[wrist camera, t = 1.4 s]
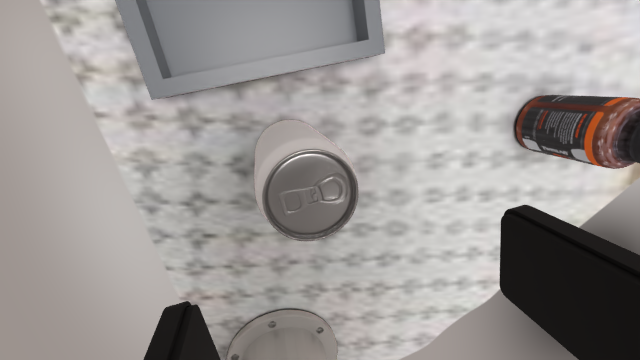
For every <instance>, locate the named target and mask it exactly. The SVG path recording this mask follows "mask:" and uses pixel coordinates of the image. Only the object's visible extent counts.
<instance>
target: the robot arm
mask: <svg viewBox="0 0 640 360" xmlns="http://www.w3.org/2000/svg"><path fill="white" fill-rule="evenodd" d="M500 288H501V291H502V293H503V294H504V295H505V296H506V298H508V299H509V300H510V301H511V302H512V303H513V304H515V305H516V306H517V307H518V308H519V309H520V310H522V311H523V312H524V313H525V314H526V315H528V316H529V317H530V318H531V319H532V320H533V321H534V322H536V323H537V324H538V325H539V326H540V327H541V328H543V329H544V330H545V331H546V332H547V333H548V334H550V335H551V336H552V337H553V338H554V339H555V340H557V341H558V342H559V343H560V344H561V345H562V346H563V347H565V348H566V349H567V350H568V351H569V352H570V353H572V354H573V355H574V356H575V357H576V358H578V359H579V360H640V255H638V254H636V253H633V252H631V251H629V250H627V249H625V248H622V247H620V246H618V245H616V244H613V243H611V242H609V241H607V240H605V239H602V238H600V237H598V236H596V235H593V234H591V233H589V232H587V231H584V230H582V229H580V228H578V227H576V226H574V225H571V224H569V223H567V222H565V221H562V220H560V219H558V218H556V217H554V216H551V215H549V214H547V213H545V212H542V211H540V210H538V209H536V208H534V207H531V206H529V205H522V206H518V207H515V208H511V209H508V210H507V211H506V212H505V213H504V216H503V217H502V218H501V247H500ZM337 353H338V350H337V343H336V339H335V336H334V334H333V332H332V330H331V328H330V326H329V325H328V324H327V323H326V322H325V321H324V320H322V319H321V318H320V317H318V316H316V315H314V314H312V313H309V312H305V311H301V310H282V311H276V312H272V313H268V314H266V315H263V316H261V317H259V318H257V319H255V320H253V321H252V322H250V323H249V324H247V325H246V326H245V327H244V328H243V329H242V330H241V331H240V332H239V333H238V334H237V335H236V337H235V338H234V339H233V341H232V343H231V345H230V347H229V350H228V354H227V360H337ZM144 360H220V357H219V355H218V352H217V350H216V347H215V345H214V342H213V340H212V338H211V335H210V333H209V330H208V328H207V325H206V323H205V321H204V318H203V316H202V313H201V311H200V308H199V307H198V305H191V303H190V302H188V301H186V302H183V303H179V304H176V305H172V306H169V307H166V308H165V309H164V311H163V313H162V315H161V318H160V320H159V323H158V325H157V328H156V330H155V333H154V335H153V337H152V340H151V343H150V345H149V347H148V350H147V353H146V355H145V357H144Z"/></svg>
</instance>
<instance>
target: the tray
mask: <svg viewBox="0 0 640 360" xmlns="http://www.w3.org/2000/svg"><path fill="white" fill-rule="evenodd" d="M115 1H116V4H117V6H118V9H119V12H120V15H121V17H122V20H123V23H124V26H125V28H126V31H127V34H128V36H129V39H130V42H131V45H132V47H133V50H134V53H135V56H136V58H137V61H138V64H139V67H140V69H141V72H142V75H143V77H144V80H145V83H146V86H147V88H148V91H149V94H150V97H151V99H152V100H153V99H160V98H167V97H172V96H177V95H182V94H187V93H192V92H197V91H202V90H207V89H212V88H217V87H222V86H227V85H232V84H237V83H242V82H247V81H252V80H257V79H262V78H267V77H272V76H277V75H282V74H287V73H292V72H297V71H302V70H307V69H312V68H317V67H322V66H327V65H332V64H337V63H342V62H347V61H352V60H357V59H362V58H367V57H372V56H376V55H380V54H384V53H385V47H384V38H383V29H382V20H381V10H380V1H379V0H115Z"/></svg>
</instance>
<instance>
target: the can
mask: <svg viewBox="0 0 640 360" xmlns="http://www.w3.org/2000/svg"><path fill="white" fill-rule="evenodd" d="M254 185H255V196H256V200H257V204H258V206H259V209H260V211H261V212H262V214H263V215H264V217H265V218H266V219H267V220H268V221H269V222H270V223H271V225H272V226H273V227H274V228H275V229H276V230H277V231H278V232H280V233H281V234H283V235H284V236H286V237H289V238H291V239H294V240H299V241H315V240H320V239H324V238H326V237H329V236H331V235H333V234H334V233H336V232H337V231H339V230H340V229H341V228H342V227H343V226H344V225H345V224H346V223H347V222H348V221H349V219H350V218H351V216H352V215H353V213H354V211H355V208H356V205H357V201H358V183H357V180H356V174H355V170H354V167H353V165H352V163H351V161H350V159H349V158H348V157H347V155H346V154H345V153H344V152H343V151H342V150H341V149H340V148H339V147H338V146H337V145H336V144H334V143H333V142H332V141H330V140H329V139H328V138H326V137H325V136H324V135H322V134H321V133H320V132H318V131H317V130H315V129H314V128H313V127H311V126H310V125H308V124H306V123H304V122H301V121H298V120H282V121H279V122H276V123H274V124H272V125H271V126H269V127H268V128H267V129H266V130H265V131H264V132H263V133H262V134H261V136H260V137H259V139H258V141H257V144H256V148H255V168H254Z"/></svg>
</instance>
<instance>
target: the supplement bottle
mask: <svg viewBox="0 0 640 360" xmlns="http://www.w3.org/2000/svg"><path fill="white" fill-rule="evenodd" d="M516 134H517V138H518V140H519V142H520V144H521V145H522V146H523V147H525V148H527V149H529V150H533V151H535V152H540V153H545V154H548V155H553V156H558V157H563V158H567V159H571V160H575V161H579V162H583V163H588V164H592V165H597V166H602V167H606V168H613V169H615V168H623V167H627V166H629V165H632V164H633V163H635V162H637V163H640V99H639V98H628V97H598V96H563V95H546V96H540V97H537V98H535V99H533V100H532V101H531V102H529V103H528V104H527V105H526V106H525V107H524V109H523V110H522V112H521V113H520V115H519V118H518V121H517V125H516Z"/></svg>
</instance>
